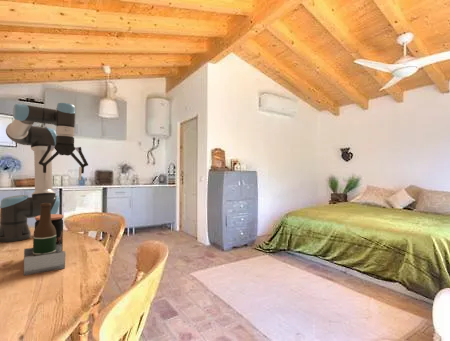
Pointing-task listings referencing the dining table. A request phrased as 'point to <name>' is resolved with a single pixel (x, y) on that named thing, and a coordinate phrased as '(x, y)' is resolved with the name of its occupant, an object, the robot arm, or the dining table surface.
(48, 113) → the robot arm
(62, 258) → the bracket
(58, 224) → the coffee jar
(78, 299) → the dining table surface
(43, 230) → the beer bottle
